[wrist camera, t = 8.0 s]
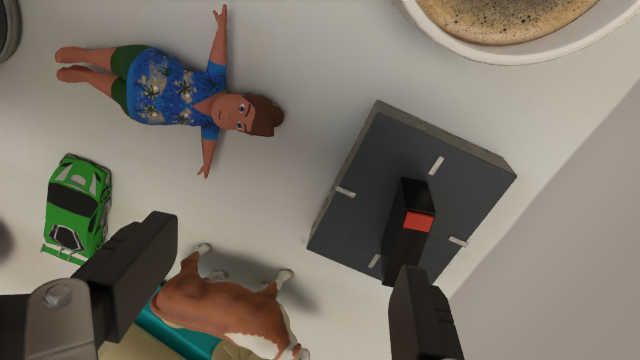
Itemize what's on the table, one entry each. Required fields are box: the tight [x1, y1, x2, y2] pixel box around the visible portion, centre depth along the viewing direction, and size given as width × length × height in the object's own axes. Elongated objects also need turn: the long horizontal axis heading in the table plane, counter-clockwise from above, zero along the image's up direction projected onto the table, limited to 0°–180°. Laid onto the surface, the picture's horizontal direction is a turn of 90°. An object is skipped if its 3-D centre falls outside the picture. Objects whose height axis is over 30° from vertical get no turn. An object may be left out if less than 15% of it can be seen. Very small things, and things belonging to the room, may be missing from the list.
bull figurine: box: [150, 244, 310, 360], centre depth 31 cm, size 4×13×8 cm, turn 69°
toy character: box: [55, 4, 284, 179], centre depth 25 cm, size 12×5×15 cm
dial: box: [380, 177, 436, 287], centre depth 24 cm, size 6×2×4 cm, turn 171°
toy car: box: [40, 154, 111, 266], centre depth 32 cm, size 10×5×2 cm, turn 158°
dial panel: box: [306, 100, 517, 285], centre depth 27 cm, size 12×10×3 cm
